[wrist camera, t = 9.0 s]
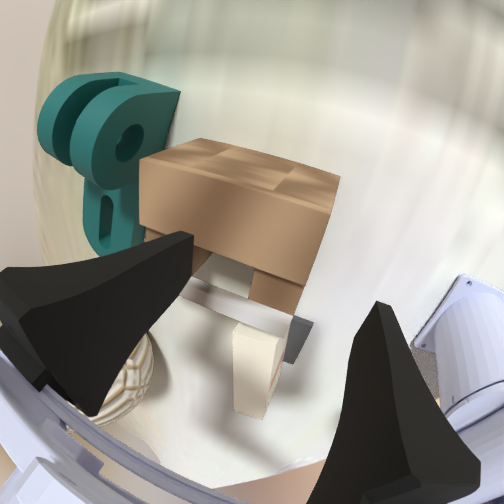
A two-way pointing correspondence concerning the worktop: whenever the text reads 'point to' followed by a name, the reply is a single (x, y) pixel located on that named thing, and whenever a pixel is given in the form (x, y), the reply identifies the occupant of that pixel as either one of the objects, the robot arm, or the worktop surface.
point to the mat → (296, 338)
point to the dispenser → (240, 222)
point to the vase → (126, 386)
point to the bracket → (107, 147)
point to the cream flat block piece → (255, 368)
